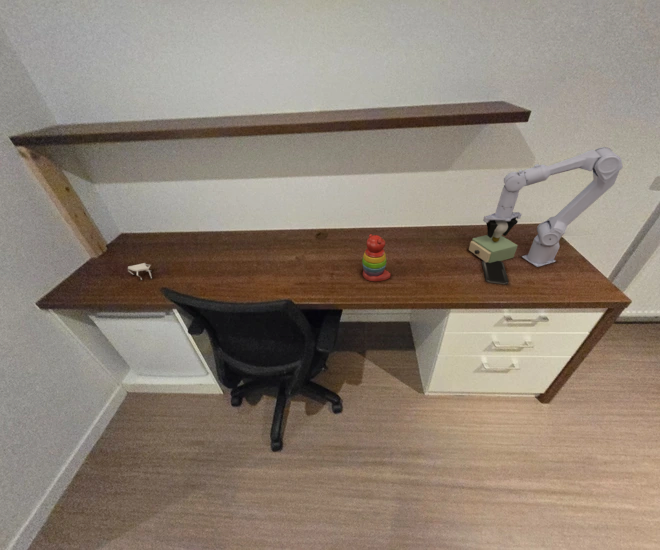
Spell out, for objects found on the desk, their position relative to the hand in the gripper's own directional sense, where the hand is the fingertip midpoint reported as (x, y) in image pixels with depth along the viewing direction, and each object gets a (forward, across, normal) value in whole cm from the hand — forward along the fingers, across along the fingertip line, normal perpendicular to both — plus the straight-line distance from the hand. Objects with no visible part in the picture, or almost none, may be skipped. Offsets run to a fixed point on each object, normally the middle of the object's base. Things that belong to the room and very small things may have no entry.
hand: (496, 235), depth 124 cm
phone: (+10, -6, -12) cm, 17 cm away
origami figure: (+9, -151, +18) cm, 152 cm away
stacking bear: (+9, -52, -3) cm, 53 cm away
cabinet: (+9, 0, 0) cm, 9 cm away
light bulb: (+3, 0, 0) cm, 3 cm away
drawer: (+8, -2, 0) cm, 8 cm away
